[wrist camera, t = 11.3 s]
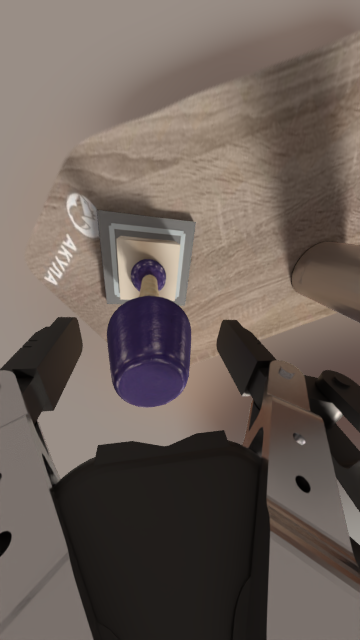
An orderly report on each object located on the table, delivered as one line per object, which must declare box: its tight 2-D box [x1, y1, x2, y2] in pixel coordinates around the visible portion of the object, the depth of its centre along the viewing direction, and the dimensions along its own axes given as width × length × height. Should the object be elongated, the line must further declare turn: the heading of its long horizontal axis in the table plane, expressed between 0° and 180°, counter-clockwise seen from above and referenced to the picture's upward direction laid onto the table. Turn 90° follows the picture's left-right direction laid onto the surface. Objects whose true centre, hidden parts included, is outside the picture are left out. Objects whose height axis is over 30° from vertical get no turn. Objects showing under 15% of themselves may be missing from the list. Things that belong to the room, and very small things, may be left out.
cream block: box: [116, 236, 180, 301], centre depth 23 cm, size 7×7×4 cm
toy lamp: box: [107, 259, 191, 407], centre depth 14 cm, size 5×5×17 cm
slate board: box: [97, 210, 196, 306], centre depth 25 cm, size 12×12×1 cm
